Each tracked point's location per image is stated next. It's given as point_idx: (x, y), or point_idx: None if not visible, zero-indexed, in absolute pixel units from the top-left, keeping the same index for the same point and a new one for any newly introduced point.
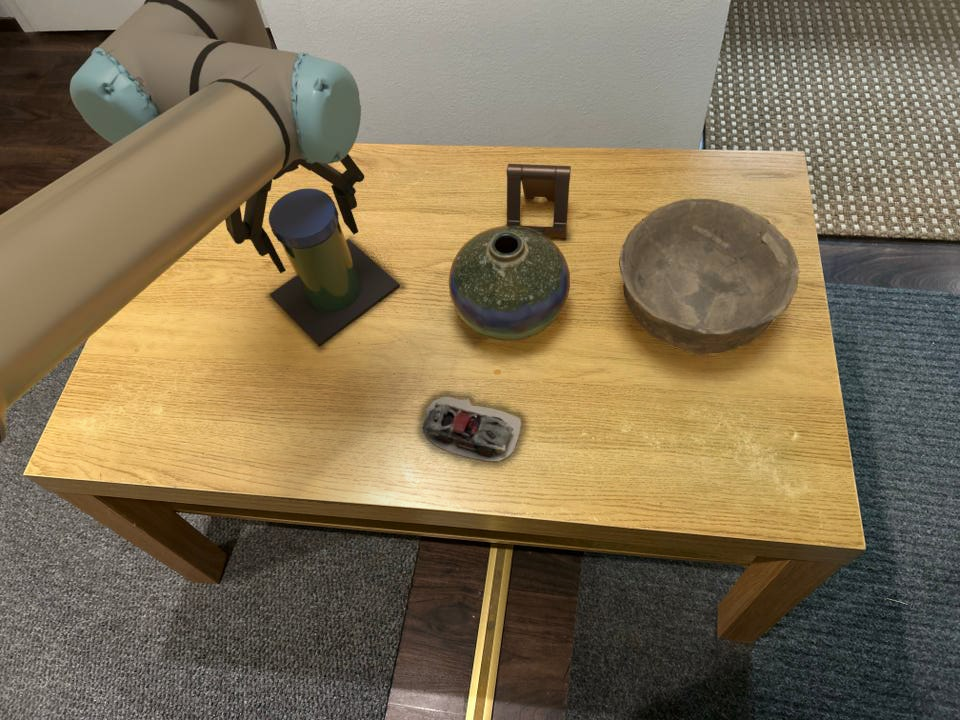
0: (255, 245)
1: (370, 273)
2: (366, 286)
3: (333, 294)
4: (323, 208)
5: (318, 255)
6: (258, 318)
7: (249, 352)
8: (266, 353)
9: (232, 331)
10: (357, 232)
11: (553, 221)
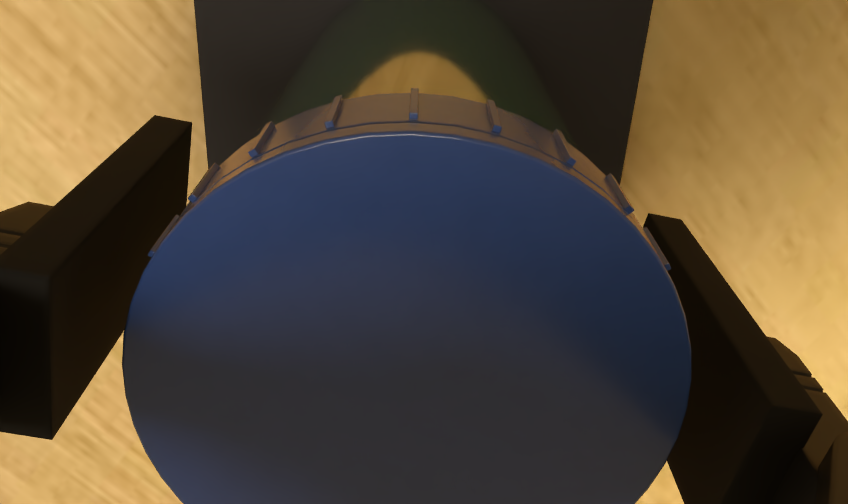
0: (835, 414)
1: (252, 51)
2: (309, 8)
3: (482, 16)
4: (243, 309)
5: (501, 91)
6: (699, 228)
7: (841, 129)
8: (810, 73)
9: (797, 252)
10: (163, 117)
11: None
